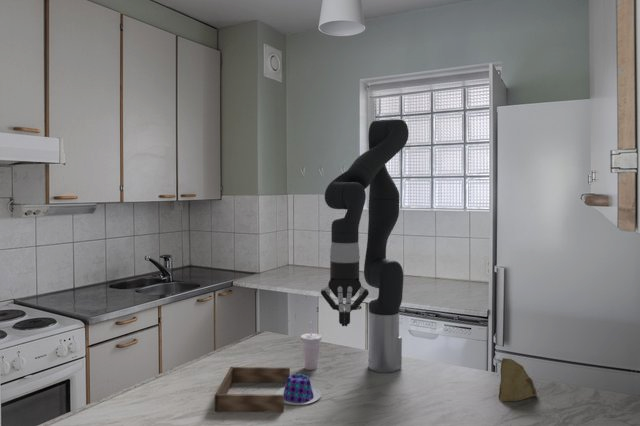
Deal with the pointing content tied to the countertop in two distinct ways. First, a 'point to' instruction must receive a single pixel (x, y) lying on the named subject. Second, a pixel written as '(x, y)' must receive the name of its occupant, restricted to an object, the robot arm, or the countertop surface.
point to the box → (251, 400)
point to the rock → (515, 382)
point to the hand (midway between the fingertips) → (344, 325)
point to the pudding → (299, 390)
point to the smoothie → (311, 348)
